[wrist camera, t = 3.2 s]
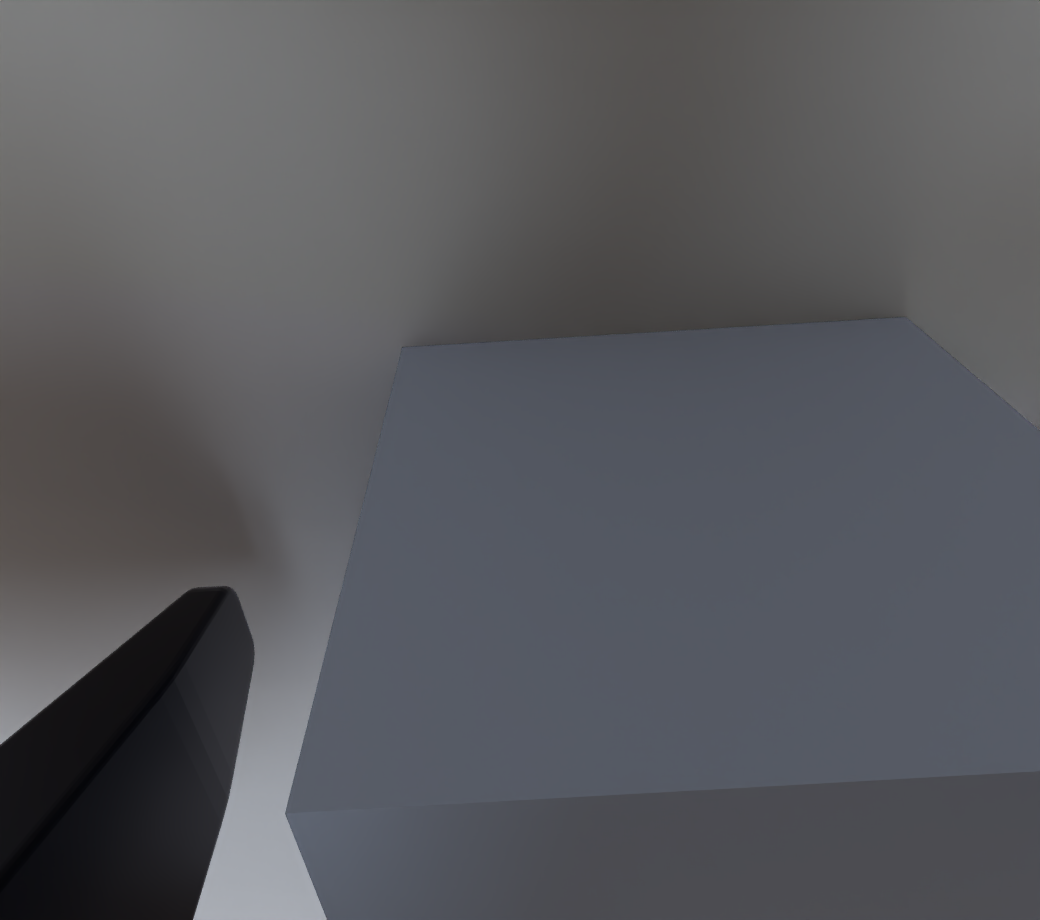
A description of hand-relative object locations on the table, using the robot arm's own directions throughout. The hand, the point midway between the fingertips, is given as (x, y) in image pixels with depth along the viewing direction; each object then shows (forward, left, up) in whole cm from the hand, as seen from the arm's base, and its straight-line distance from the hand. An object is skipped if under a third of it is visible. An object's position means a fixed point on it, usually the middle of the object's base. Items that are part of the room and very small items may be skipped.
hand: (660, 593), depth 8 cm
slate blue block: (0, 0, -1) cm, 1 cm away
